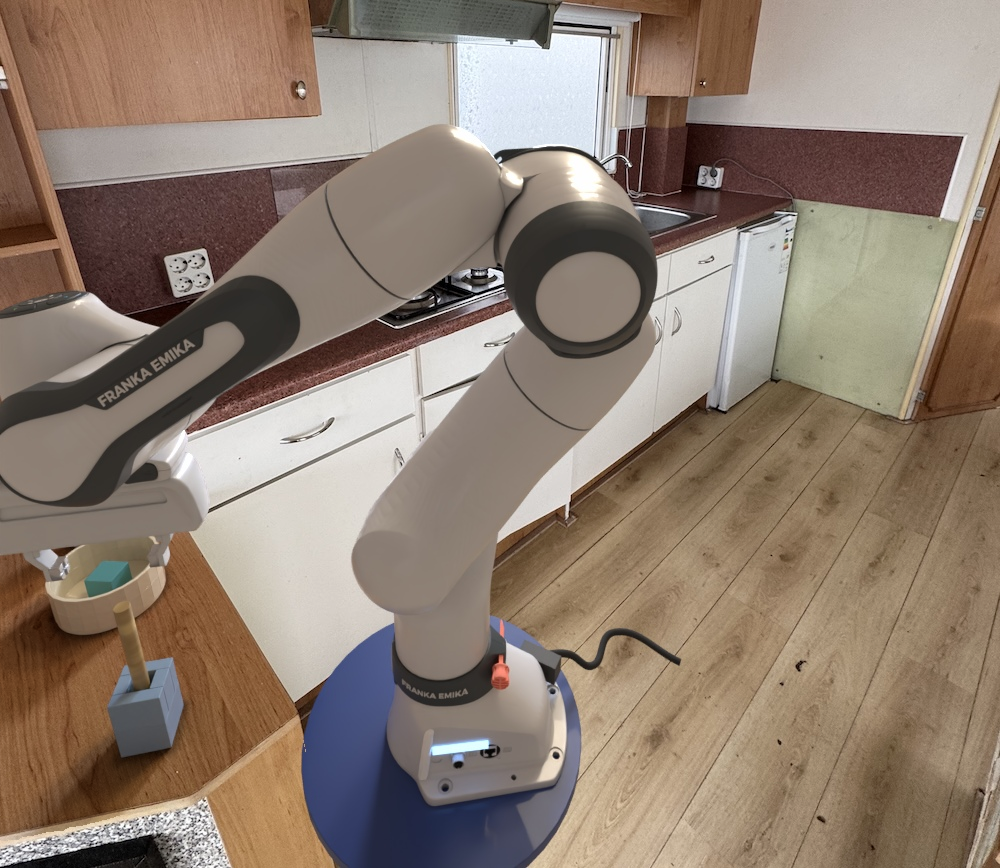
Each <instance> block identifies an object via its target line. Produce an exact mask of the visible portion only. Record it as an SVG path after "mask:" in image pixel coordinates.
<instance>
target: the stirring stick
mask: <svg viewBox="0 0 1000 868" xmlns="http://www.w3.org/2000/svg"><path fill="white" fill-rule="evenodd" d="M113 613H114V616H115V620H116V624H117V627H116V628H117V631H118V634H119V638H120V642H121V646H122V649H123V650H122V651H123V653H124V657H125V660H126V665H128V668H129V672H130V676H131V680H132V683H133V687H134V691H135V692H137V691H142V690H147V689H150V686H151V683H150V679H149V675H148V671H147V667H146V663H145V662H146V660H145V654H144V651H143V648H142V644H141V640H140V635H139V631H138V628H137V624H136V620H135V618H134V616H133V612H132V608H131V604H130V602H128V601H123V602H120V603H118V604H117V605H116V606H115V607H114V608H113Z"/></svg>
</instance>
